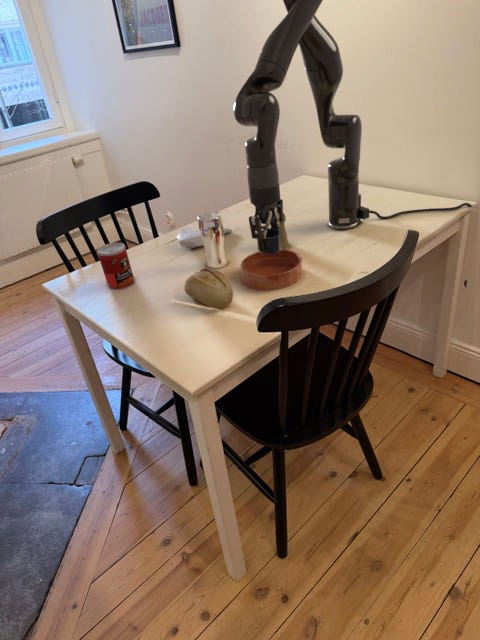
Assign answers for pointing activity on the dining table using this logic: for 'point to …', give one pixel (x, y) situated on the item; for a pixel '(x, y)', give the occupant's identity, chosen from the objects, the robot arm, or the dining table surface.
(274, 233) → the bowl
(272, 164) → the robot arm
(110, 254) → the canned food
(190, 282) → the bread roll
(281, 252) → the serving bowl
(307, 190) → the dining table surface
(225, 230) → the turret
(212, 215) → the beer glass
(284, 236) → the cork
